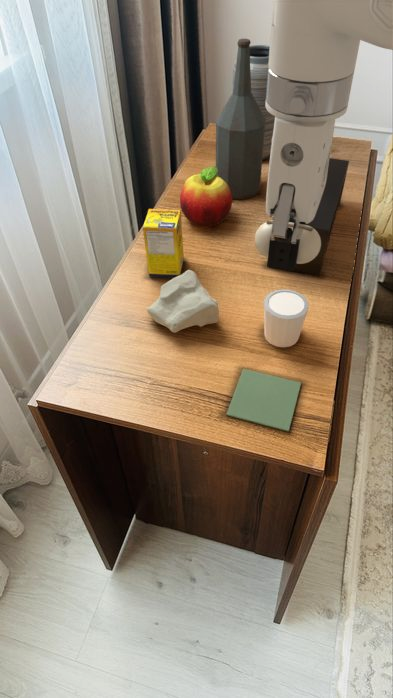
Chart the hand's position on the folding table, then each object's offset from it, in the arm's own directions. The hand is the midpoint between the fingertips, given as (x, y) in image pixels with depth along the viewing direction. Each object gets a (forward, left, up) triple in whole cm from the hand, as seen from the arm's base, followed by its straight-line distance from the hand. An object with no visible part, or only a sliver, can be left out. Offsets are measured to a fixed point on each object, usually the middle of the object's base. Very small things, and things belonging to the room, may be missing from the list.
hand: (286, 253), depth 58 cm
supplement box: (+25, -20, -23) cm, 40 cm away
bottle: (+20, -52, -23) cm, 61 cm away
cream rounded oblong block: (0, 0, -1) cm, 1 cm away
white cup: (0, -10, -23) cm, 25 cm away
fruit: (+23, -38, -23) cm, 50 cm away
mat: (0, +4, -23) cm, 23 cm away
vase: (+21, -70, -23) cm, 77 cm away
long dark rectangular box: (+2, -39, -23) cm, 46 cm away
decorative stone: (+17, -8, -23) cm, 30 cm away
